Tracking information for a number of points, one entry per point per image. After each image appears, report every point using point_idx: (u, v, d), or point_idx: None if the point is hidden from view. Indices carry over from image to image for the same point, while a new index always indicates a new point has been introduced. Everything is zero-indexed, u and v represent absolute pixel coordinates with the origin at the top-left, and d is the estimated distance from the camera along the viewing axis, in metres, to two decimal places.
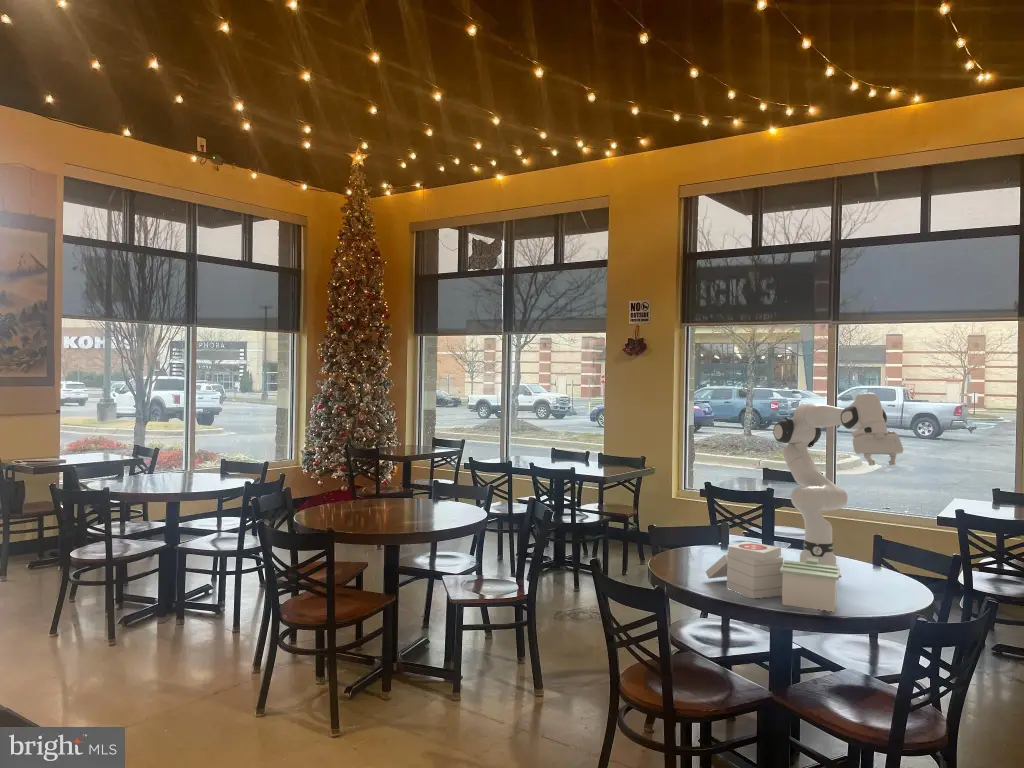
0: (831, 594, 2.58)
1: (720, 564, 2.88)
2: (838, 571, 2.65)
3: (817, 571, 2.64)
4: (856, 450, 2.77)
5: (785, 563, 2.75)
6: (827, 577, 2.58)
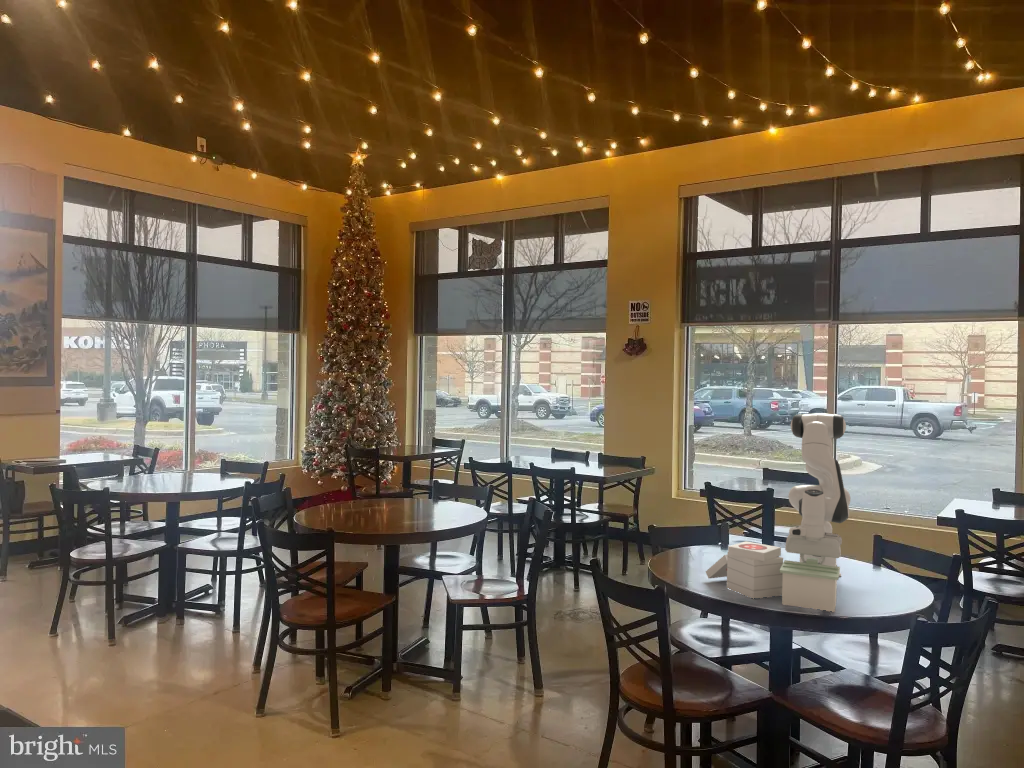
0: (831, 594, 2.58)
1: (720, 564, 2.88)
2: (838, 571, 2.65)
3: (817, 571, 2.64)
4: None
5: (785, 563, 2.75)
6: (827, 577, 2.58)
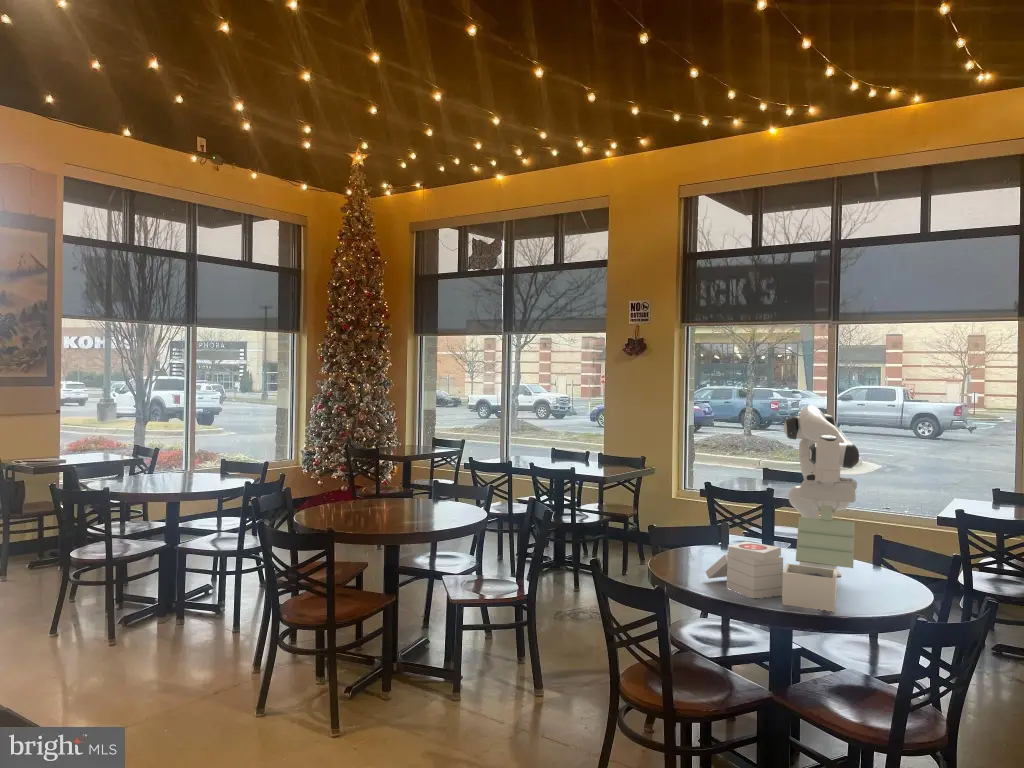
0: (831, 594, 2.58)
1: (720, 564, 2.88)
2: (853, 542, 2.68)
3: (832, 551, 2.69)
4: None
5: (800, 531, 2.77)
6: (842, 566, 2.65)
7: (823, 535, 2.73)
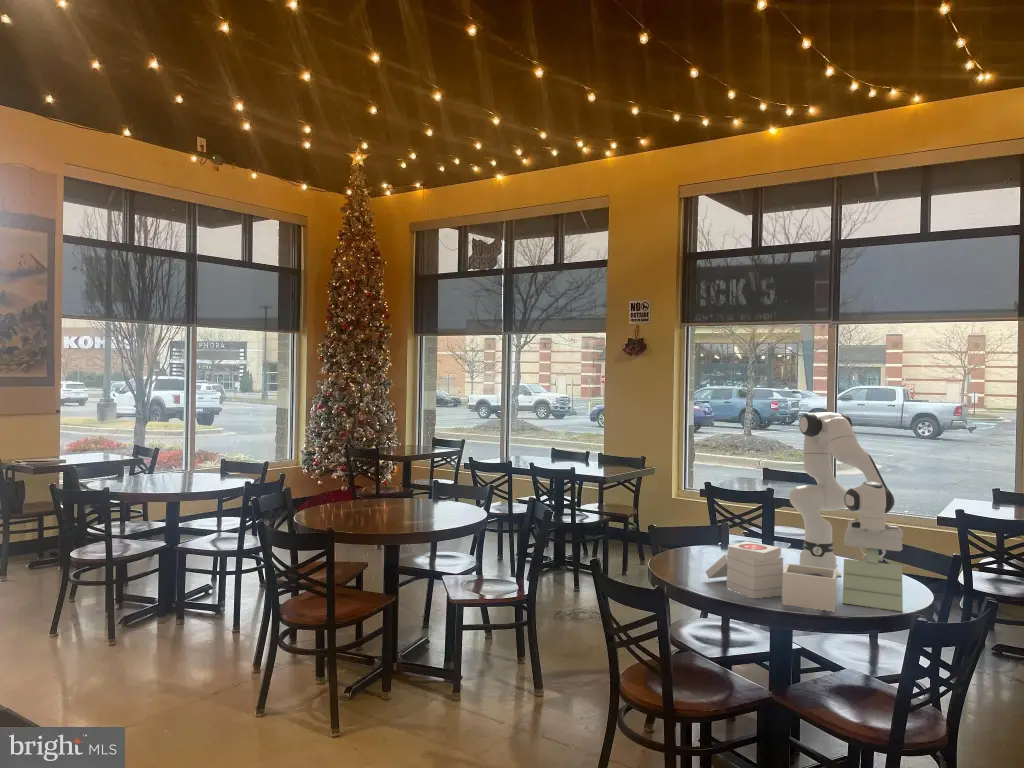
0: (831, 594, 2.58)
1: (720, 564, 2.88)
2: (901, 586, 2.64)
3: (880, 594, 2.65)
4: None
5: (846, 574, 2.73)
6: None
7: (870, 578, 2.69)
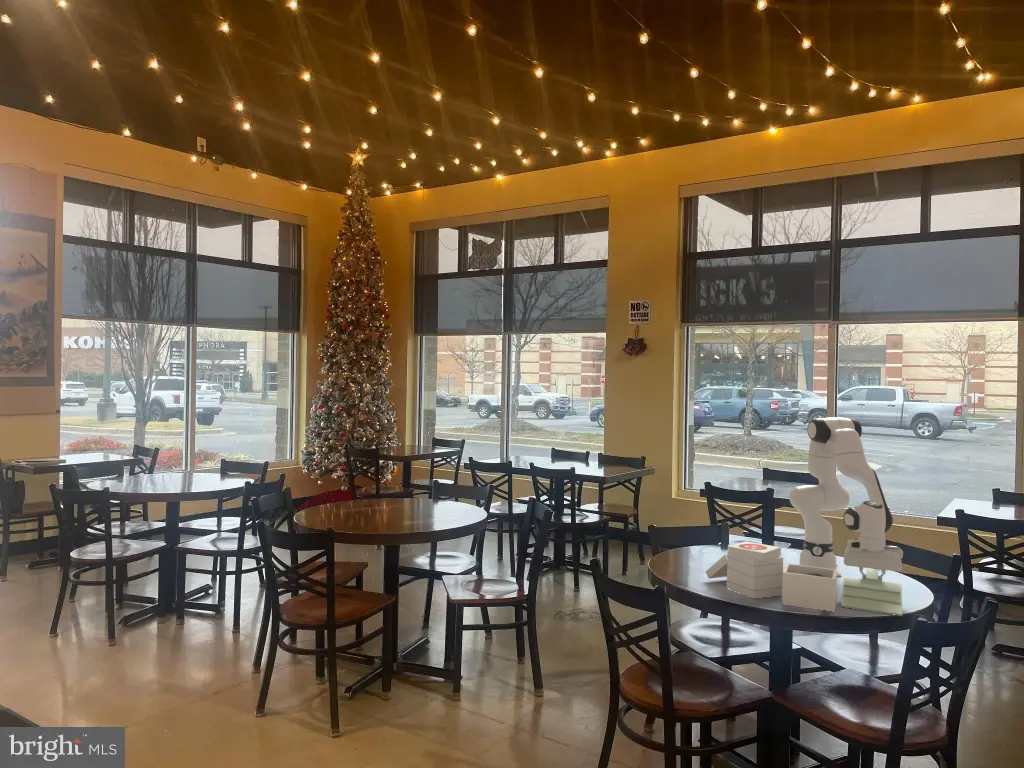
0: (831, 594, 2.58)
1: (720, 564, 2.88)
2: (901, 597, 2.62)
3: (879, 601, 2.61)
4: None
5: (845, 586, 2.72)
6: (890, 613, 2.56)
7: (869, 590, 2.68)
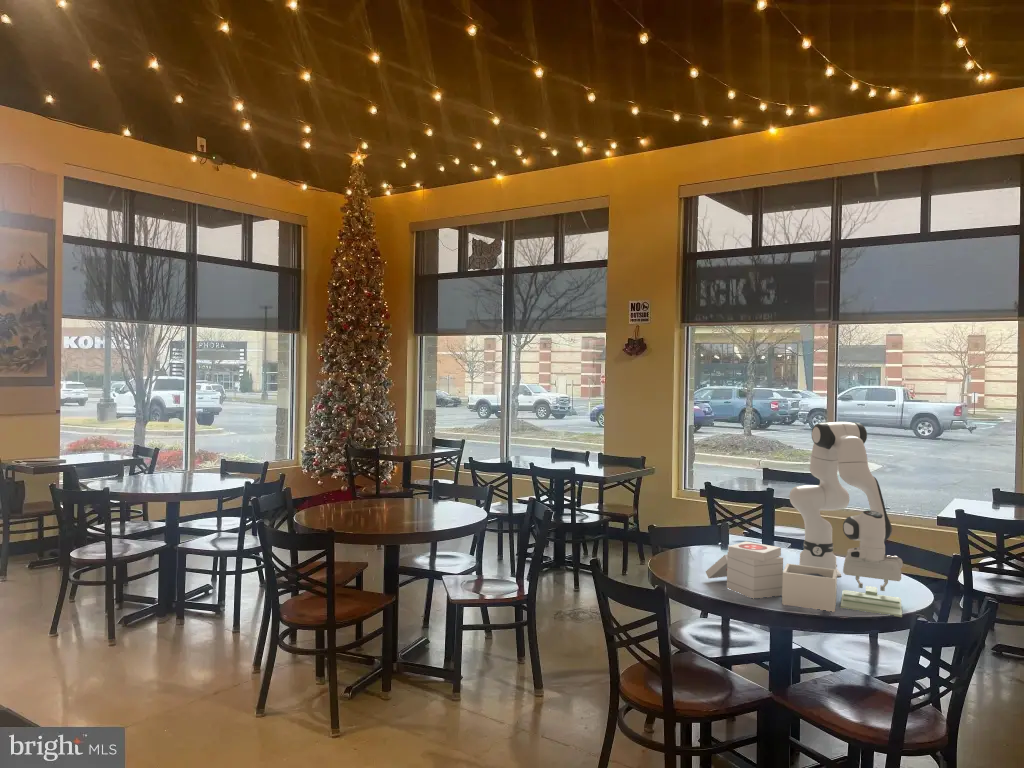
0: (831, 594, 2.58)
1: (720, 564, 2.88)
2: (900, 605, 2.62)
3: (879, 606, 2.61)
4: None
5: (844, 595, 2.72)
6: (890, 614, 2.55)
7: (869, 599, 2.68)
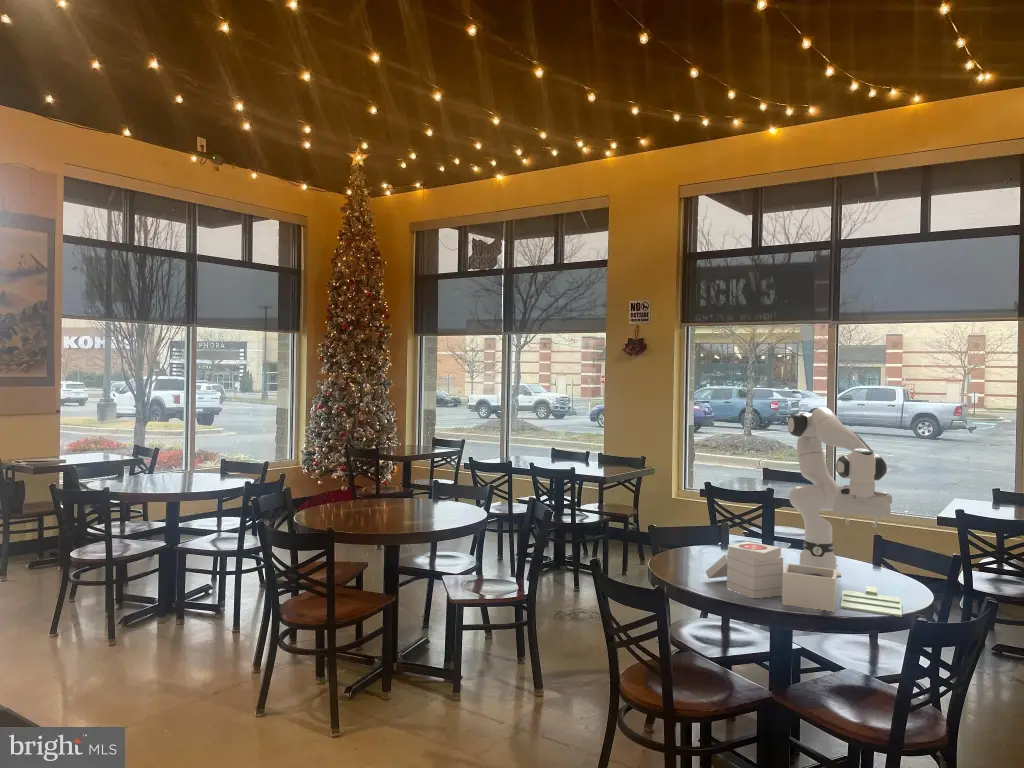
0: (831, 594, 2.58)
1: (720, 564, 2.88)
2: (900, 605, 2.62)
3: (879, 606, 2.61)
4: None
5: (844, 595, 2.72)
6: (890, 614, 2.55)
7: (869, 599, 2.68)
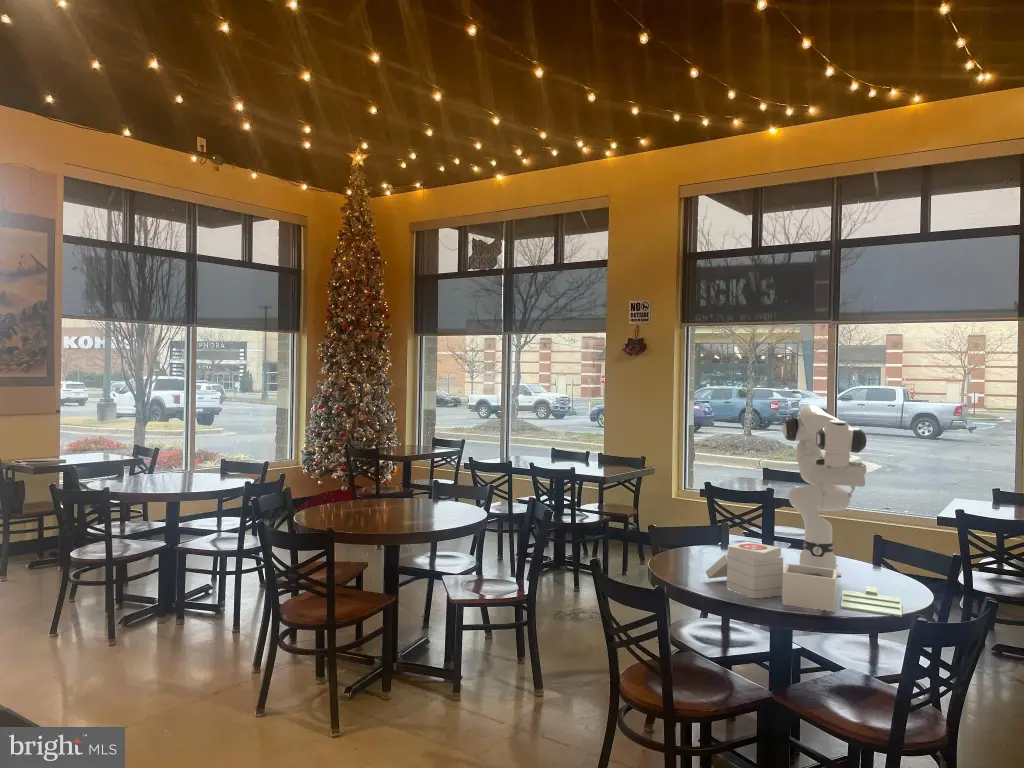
0: (831, 594, 2.58)
1: (720, 564, 2.88)
2: (900, 605, 2.62)
3: (879, 606, 2.61)
4: None
5: (844, 595, 2.72)
6: (890, 614, 2.55)
7: (869, 599, 2.68)
